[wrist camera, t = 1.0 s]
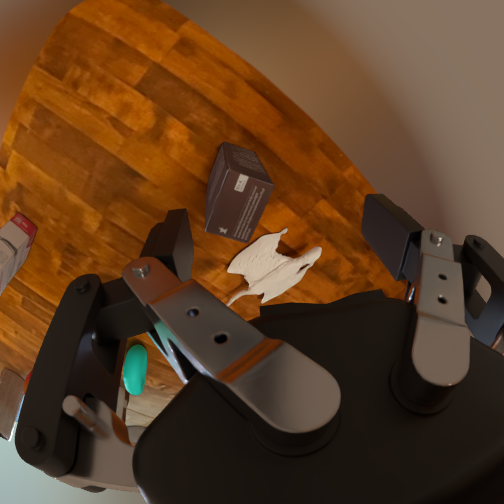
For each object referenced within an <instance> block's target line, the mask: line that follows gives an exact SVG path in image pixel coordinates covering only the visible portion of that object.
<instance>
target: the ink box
mask: <svg viewBox="0 0 504 504" xmlns="http://www.w3.org/2000/svg"><path fill="white" fill-rule="evenodd" d="M36 231H37V227H35V226H34V225H33V224H32V223H31V222H30V221H29V220H28V219H26V218H25V217H24V216H23V215H21V214H20V213H19V212H18V213H17V214H16V215H15V216H14V217H13V218H11V219H10V220H9V221H8V222H7V223H6V224H5V225H4V226H3V227H2V228H1V229H0V295H1V293H2V292H3V290H4V289H5V287H6V286H7V285H8V283H9V282H10V280H11V279H12V278H13V276H14V275H15V273H16V272H17V271H18V269H19V268H20V267H21V266H22V264H23V263H24V262H25V260H26V258H27V255H28V252H29V250H30V247H31V244H32V241H33V238H34V236H35V233H36Z"/></svg>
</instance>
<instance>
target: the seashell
mask: <svg viewBox="0 0 504 504" xmlns="http://www.w3.org/2000/svg"><path fill="white" fill-rule="evenodd" d="M145 429H146V428H145V427H140V426H132V427H129V428H128V434H129V440H130V441H131V442H134V443H136V442H137V440H138V439H139V437H140V435H141V434H142V433H143V431H144V430H145Z"/></svg>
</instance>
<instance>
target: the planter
mask: <svg viewBox="0 0 504 504" xmlns="http://www.w3.org/2000/svg"><path fill="white" fill-rule="evenodd" d="M23 383H24V380H23V379H22V378H21V377H20V376H19V375H17V374H16V373H14V372H13V371H11V370H9V369H3V371H2V373H1V376H0V437H2V438H4V439H6V440H8V441H10V440H11V436H12V431H13V428H14V424H15V421H16V417H17V414H18V411H19V407H20V404H21V401H22V398H23V395H24V392H23Z"/></svg>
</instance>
